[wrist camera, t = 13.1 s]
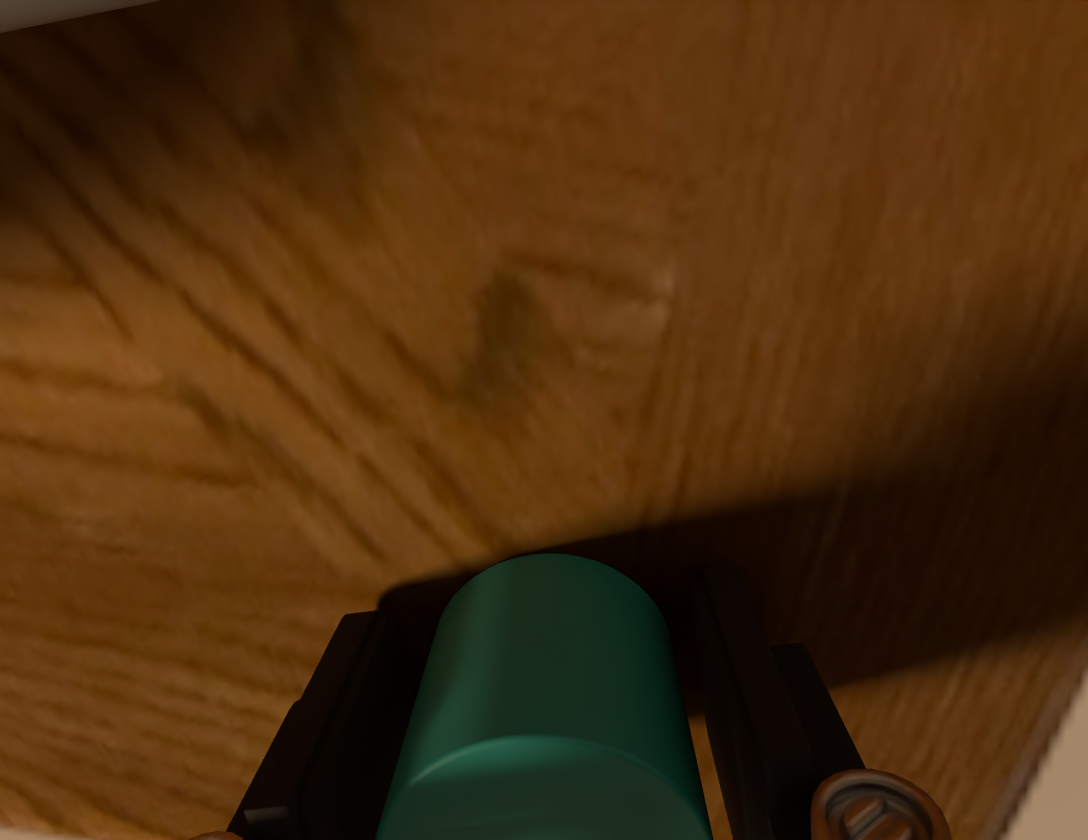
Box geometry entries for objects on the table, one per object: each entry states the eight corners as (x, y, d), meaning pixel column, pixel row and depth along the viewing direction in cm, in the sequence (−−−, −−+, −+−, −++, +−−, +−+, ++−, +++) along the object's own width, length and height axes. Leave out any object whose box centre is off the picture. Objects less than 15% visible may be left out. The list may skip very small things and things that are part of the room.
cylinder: (657, 536, 11) (701, 719, 8) (683, 738, 13) (731, 982, 9) (410, 568, 12) (334, 757, 8) (459, 762, 13) (413, 1005, 9)
